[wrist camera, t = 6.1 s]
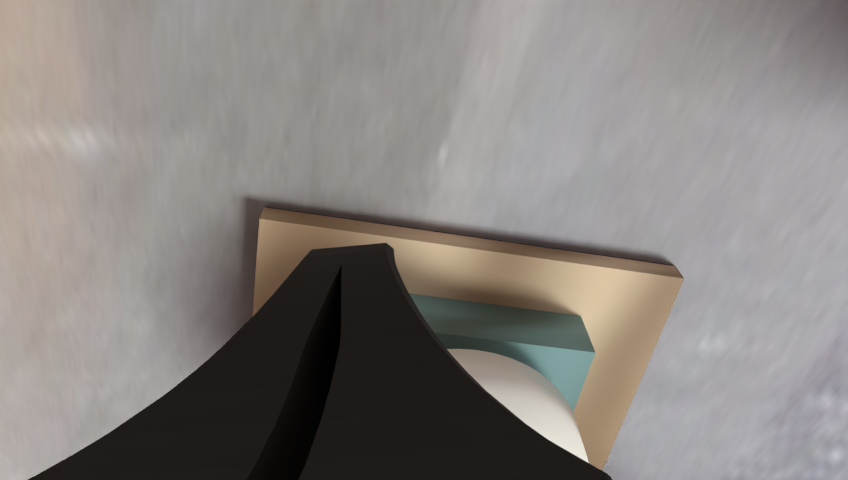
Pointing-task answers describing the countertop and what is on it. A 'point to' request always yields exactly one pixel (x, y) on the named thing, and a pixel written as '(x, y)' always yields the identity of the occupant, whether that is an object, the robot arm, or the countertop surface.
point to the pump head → (525, 396)
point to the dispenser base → (509, 305)
